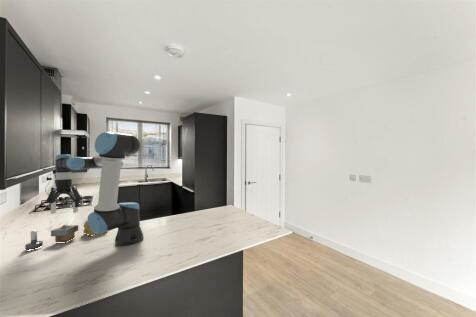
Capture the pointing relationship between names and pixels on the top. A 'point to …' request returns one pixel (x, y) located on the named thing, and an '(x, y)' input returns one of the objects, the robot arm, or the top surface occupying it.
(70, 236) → the stand
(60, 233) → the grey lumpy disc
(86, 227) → the cheese
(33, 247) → the hub
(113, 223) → the robot arm
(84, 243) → the top surface
